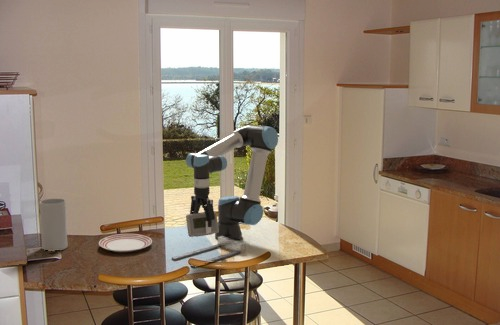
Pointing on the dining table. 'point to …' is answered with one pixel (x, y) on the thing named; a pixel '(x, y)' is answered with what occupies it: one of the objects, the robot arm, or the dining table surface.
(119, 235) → the dinner plate
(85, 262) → the dining table surface
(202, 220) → the digital clock
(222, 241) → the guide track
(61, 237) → the cylinder vase
